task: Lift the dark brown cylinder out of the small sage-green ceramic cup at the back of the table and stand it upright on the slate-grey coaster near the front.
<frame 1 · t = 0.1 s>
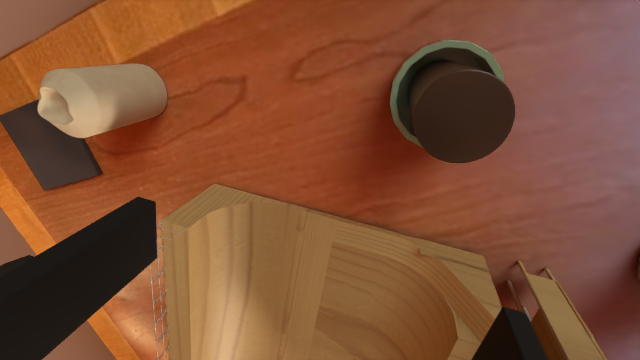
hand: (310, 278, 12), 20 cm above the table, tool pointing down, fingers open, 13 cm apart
skate ramp: (334, 348, 42), on the table
cup: (438, 90, 27), on the table
candle: (146, 90, 34), on the table
dark brown cylinder: (438, 91, 27), resting on cup
coaster: (52, 144, 39), on the table
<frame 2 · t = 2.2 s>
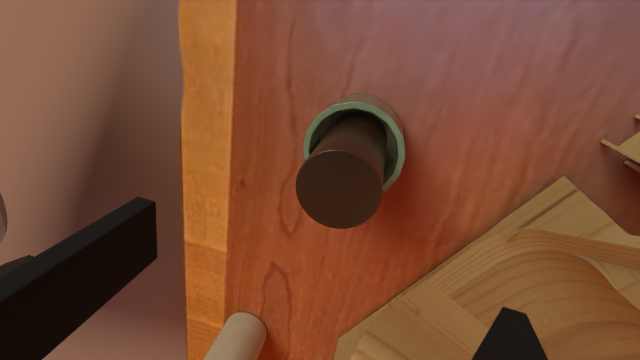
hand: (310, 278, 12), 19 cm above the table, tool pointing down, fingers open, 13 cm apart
cup: (358, 138, 29), on the table
candle: (248, 326, 42), on the table
dark brown cylinder: (358, 139, 28), resting on cup
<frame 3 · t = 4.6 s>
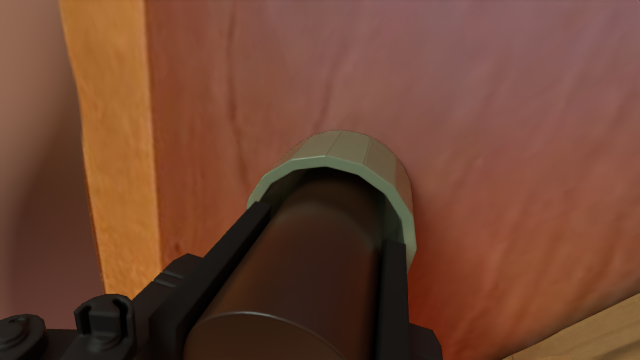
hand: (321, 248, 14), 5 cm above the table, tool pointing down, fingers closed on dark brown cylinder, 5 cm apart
cup: (341, 196, 18), on the table
dark brown cylinder: (339, 200, 18), point 1 cm above the table, touching cup, gripper
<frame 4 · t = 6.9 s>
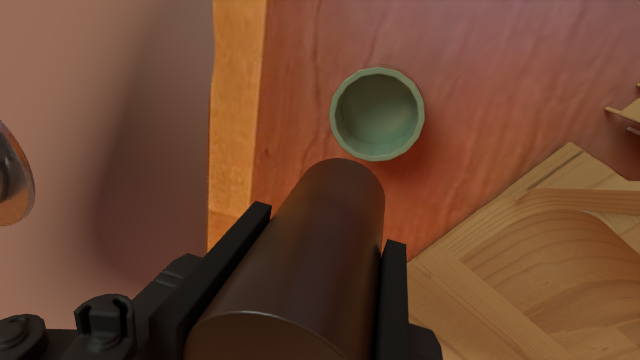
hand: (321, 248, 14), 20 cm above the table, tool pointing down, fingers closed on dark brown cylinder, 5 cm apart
skate ramp: (593, 333, 35), on the table
cup: (378, 107, 31), on the table
dark brown cylinder: (340, 199, 18), point 15 cm above the table, touching gripper
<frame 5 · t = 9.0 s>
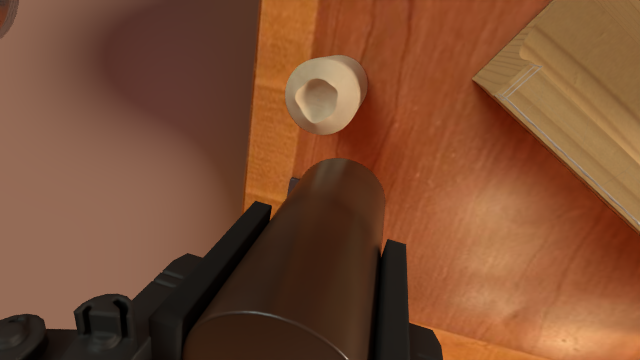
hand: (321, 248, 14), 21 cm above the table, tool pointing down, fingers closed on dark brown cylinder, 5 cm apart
candle: (340, 84, 31), on the table
dark brown cylinder: (340, 200, 18), point 16 cm above the table, touching gripper
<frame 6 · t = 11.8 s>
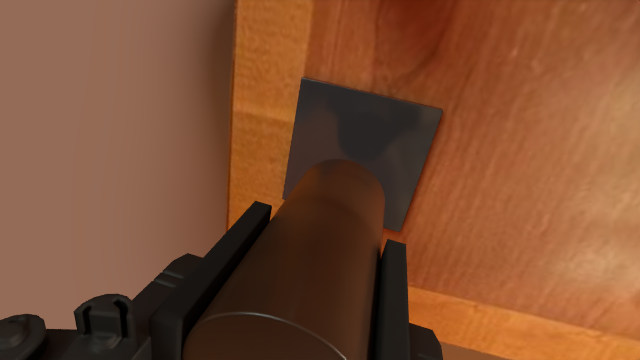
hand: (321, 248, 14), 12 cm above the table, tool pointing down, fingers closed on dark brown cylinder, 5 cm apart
dark brown cylinder: (339, 200, 18), point 7 cm above the table, touching gripper
coaster: (354, 157, 25), on the table
when the fingers open (5 cm above the table, at t = 13.7 s): dark brown cylinder stays where it is, resting on coaster.
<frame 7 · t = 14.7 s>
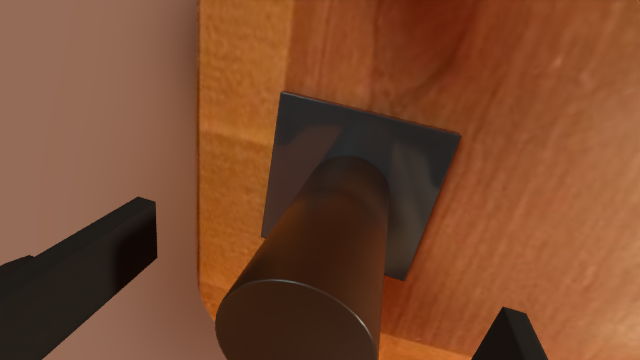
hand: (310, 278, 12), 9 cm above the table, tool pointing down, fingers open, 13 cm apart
dark brown cylinder: (347, 194, 19), point 1 cm above the table, touching coaster
coaster: (348, 189, 20), on the table
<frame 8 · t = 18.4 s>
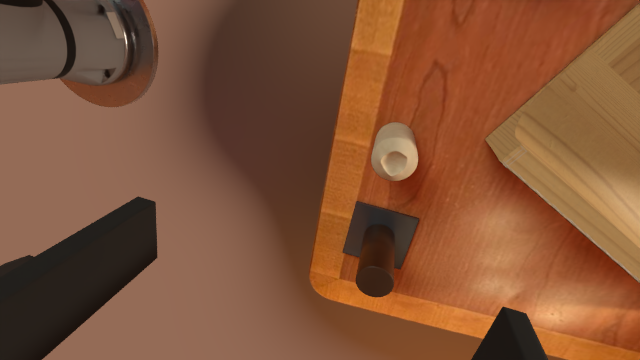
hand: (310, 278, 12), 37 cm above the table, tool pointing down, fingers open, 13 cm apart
candle: (394, 140, 46), on the table
dark brown cylinder: (379, 237, 52), point 1 cm above the table, touching coaster
coaster: (379, 235, 53), on the table
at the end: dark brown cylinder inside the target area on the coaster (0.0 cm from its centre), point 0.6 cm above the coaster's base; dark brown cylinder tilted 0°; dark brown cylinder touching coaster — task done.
